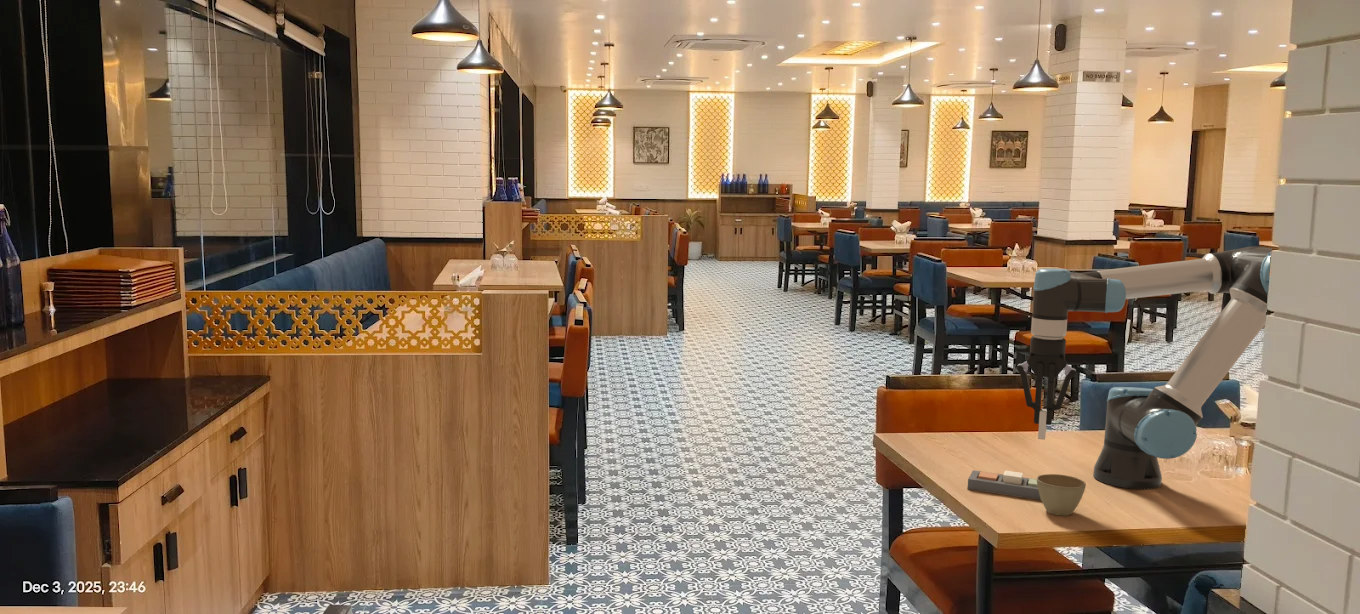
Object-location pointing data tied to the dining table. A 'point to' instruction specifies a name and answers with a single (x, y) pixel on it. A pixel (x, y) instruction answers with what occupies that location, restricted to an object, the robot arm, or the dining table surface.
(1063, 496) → the flower pot
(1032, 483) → the sage key
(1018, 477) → the cream key
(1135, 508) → the dining table surface
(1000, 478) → the keyguard
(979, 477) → the peach key
